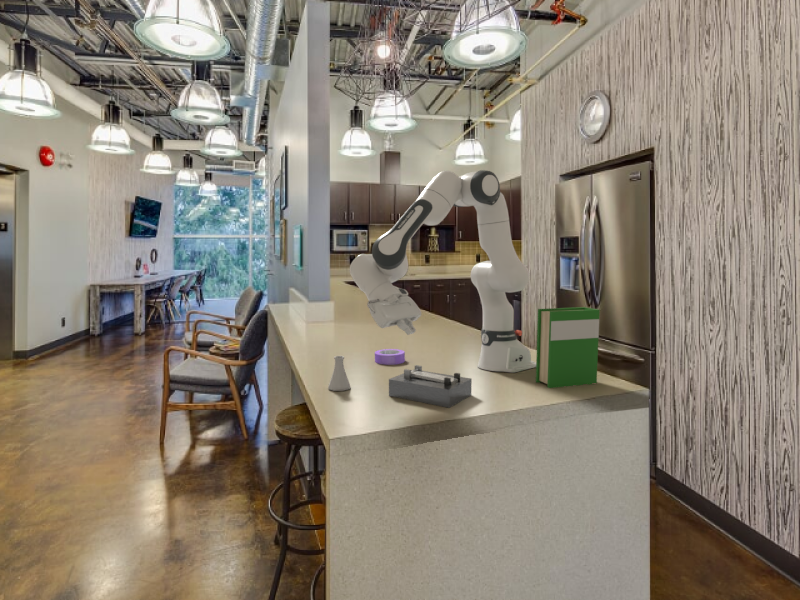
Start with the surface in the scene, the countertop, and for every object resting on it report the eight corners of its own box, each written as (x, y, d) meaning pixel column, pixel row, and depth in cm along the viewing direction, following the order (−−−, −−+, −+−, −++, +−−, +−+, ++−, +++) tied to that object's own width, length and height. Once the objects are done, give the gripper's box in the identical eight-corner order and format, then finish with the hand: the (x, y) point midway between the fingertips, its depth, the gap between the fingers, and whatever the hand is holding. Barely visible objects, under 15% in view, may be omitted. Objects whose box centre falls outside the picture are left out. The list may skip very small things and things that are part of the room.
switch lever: (407, 376, 142) (407, 371, 142) (414, 373, 146) (414, 369, 146) (451, 385, 134) (451, 380, 134) (457, 382, 138) (457, 377, 138)
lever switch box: (388, 395, 141) (388, 370, 140) (413, 384, 152) (414, 361, 152) (449, 407, 130) (449, 380, 129) (471, 395, 141) (471, 370, 141)
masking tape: (378, 366, 179) (378, 355, 178) (371, 359, 190) (371, 349, 189) (408, 363, 182) (408, 354, 182) (399, 357, 193) (399, 348, 193)
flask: (332, 393, 144) (331, 360, 143) (324, 387, 150) (324, 355, 149) (354, 389, 147) (354, 357, 146) (346, 384, 153) (345, 353, 152)
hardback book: (549, 388, 149) (551, 311, 146) (535, 381, 156) (537, 308, 153) (596, 383, 154) (599, 309, 152) (581, 377, 161) (584, 307, 159)
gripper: (370, 294, 137) (399, 330, 133) (408, 289, 154) (435, 322, 150) (358, 308, 140) (386, 345, 135) (397, 302, 157) (422, 334, 152)
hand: (412, 332), depth 143 cm, fingers closed
